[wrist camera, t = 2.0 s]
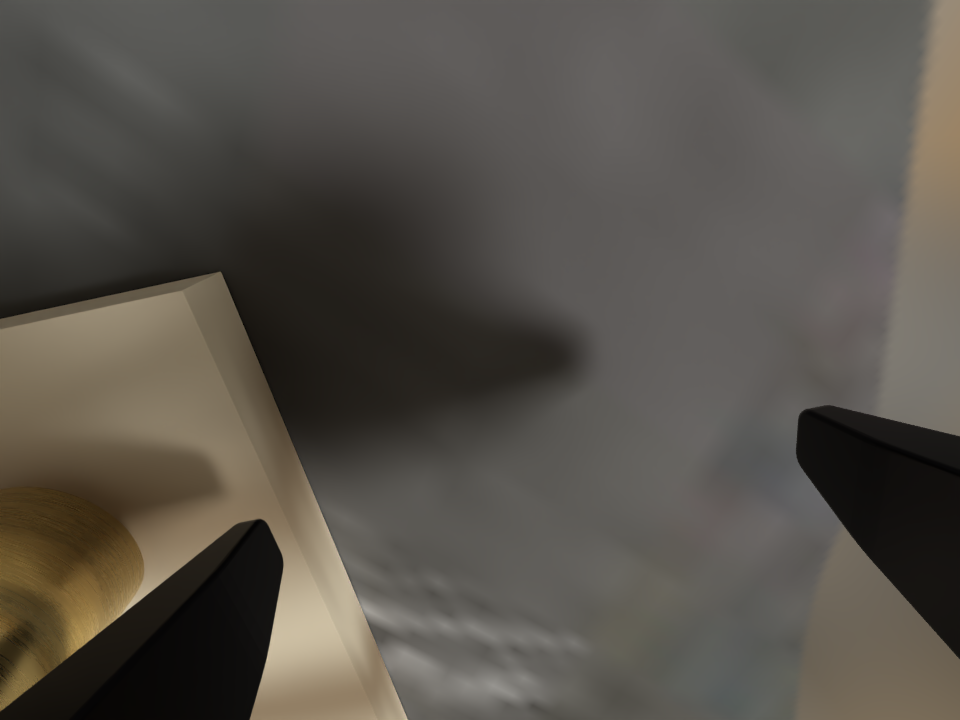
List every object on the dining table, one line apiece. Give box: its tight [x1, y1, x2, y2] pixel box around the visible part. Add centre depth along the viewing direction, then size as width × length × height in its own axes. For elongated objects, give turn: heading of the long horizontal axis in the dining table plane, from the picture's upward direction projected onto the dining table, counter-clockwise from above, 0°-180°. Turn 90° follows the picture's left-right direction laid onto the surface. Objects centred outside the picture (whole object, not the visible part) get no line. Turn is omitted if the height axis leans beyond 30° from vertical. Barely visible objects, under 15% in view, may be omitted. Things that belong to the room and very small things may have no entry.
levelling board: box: [0, 272, 408, 720], centre depth 13 cm, size 20×18×2 cm
